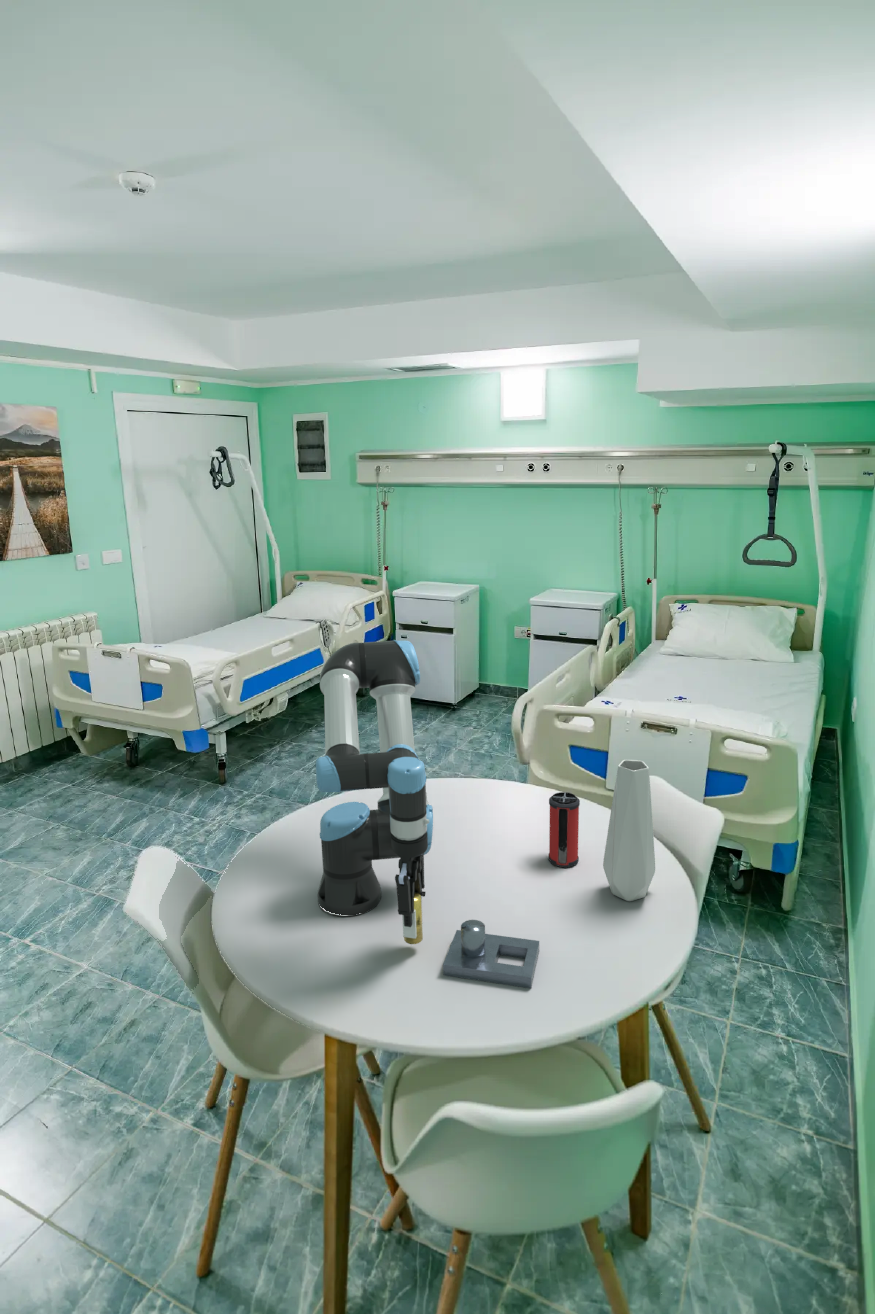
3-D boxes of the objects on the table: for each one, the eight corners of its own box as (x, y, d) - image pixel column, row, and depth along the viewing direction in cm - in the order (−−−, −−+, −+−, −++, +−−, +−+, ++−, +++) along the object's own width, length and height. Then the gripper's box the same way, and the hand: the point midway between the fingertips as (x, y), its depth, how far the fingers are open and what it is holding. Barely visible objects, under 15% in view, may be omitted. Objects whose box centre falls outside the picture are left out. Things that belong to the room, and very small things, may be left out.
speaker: (547, 866, 193) (547, 802, 189) (550, 852, 201) (550, 789, 196) (577, 869, 192) (578, 804, 187) (579, 854, 199) (580, 791, 194)
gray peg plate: (443, 975, 154) (442, 941, 152) (457, 939, 165) (456, 907, 163) (531, 988, 149) (531, 953, 147) (539, 951, 160) (539, 918, 158)
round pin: (401, 942, 160) (399, 901, 157) (407, 931, 164) (405, 891, 161) (419, 945, 159) (418, 904, 156) (425, 933, 163) (423, 893, 160)
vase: (610, 874, 189) (614, 751, 181) (657, 886, 183) (663, 759, 175) (594, 898, 179) (597, 769, 171) (642, 911, 173) (648, 778, 165)
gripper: (414, 855, 146) (418, 958, 152) (437, 814, 161) (440, 909, 168) (378, 851, 148) (383, 952, 154) (403, 811, 163) (407, 905, 170)
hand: (413, 930), depth 161 cm, fingers closed on round pin, 4 cm apart
